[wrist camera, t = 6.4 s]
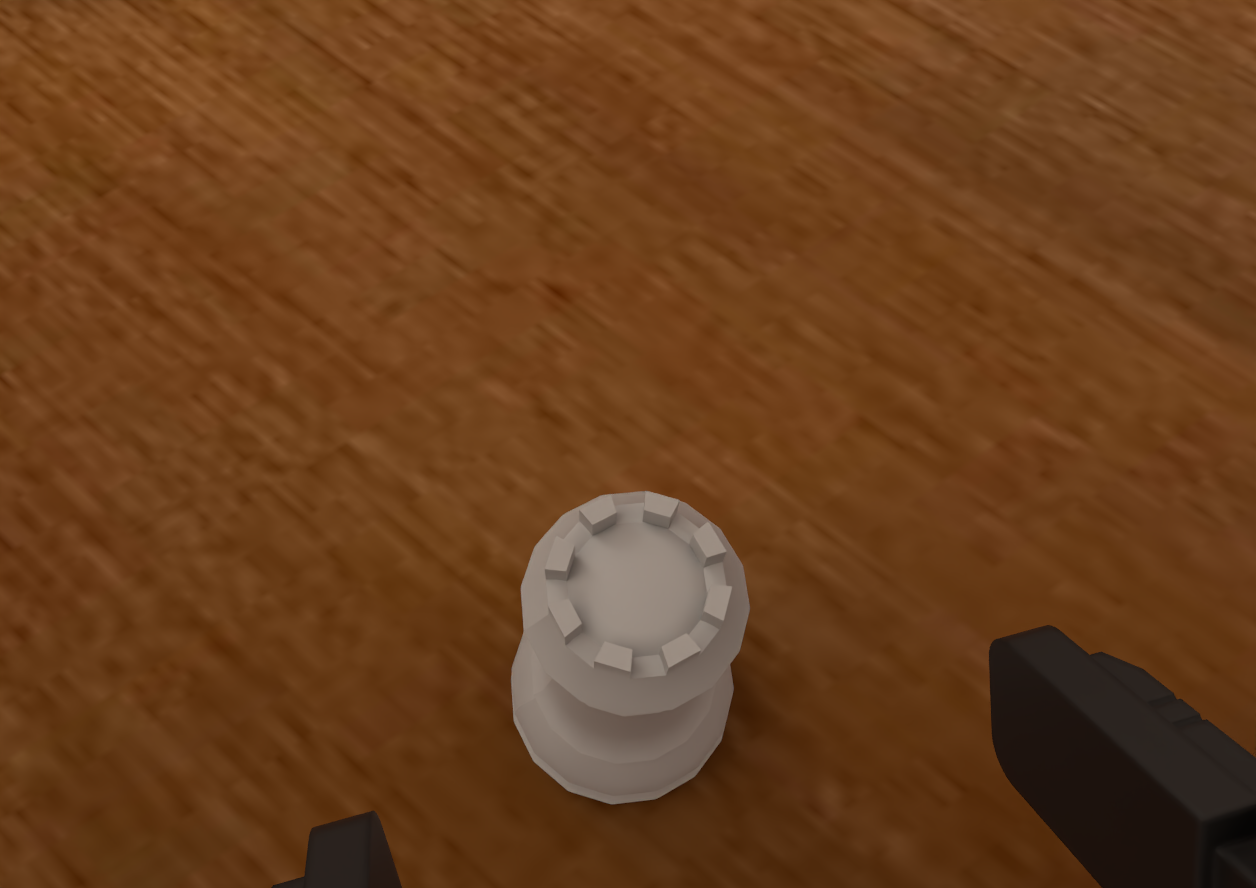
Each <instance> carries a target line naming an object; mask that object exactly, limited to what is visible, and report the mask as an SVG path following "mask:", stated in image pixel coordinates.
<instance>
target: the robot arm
mask: <svg viewBox="0 0 1256 888" xmlns="http://www.w3.org/2000/svg"><path fill="white" fill-rule="evenodd" d="M989 668H990V695H991V723H992V739H993V745H994V748H995V752H996V755H997V758H998V760H999V763H1000V765H1001V767H1002V769H1003V771H1004V773H1005V775H1006V777H1007V778H1008V780H1009V781H1010V782H1011V784H1012V785H1013V786H1014V787H1015V789H1016V790H1017V791H1018V792H1019V793H1020V794H1021V795H1022V797H1023V798H1024V799H1025V800H1026V801H1027V802H1028V803H1029V805H1030V806H1031V807H1032V808H1033V809H1034V810H1035V811H1036V813H1037V814H1038V815H1039V816H1040V817H1041V818H1042V819H1043V821H1044V822H1045V823H1046V824H1047V825H1048V826H1049V827H1050V829H1051V830H1052V831H1053V832H1054V833H1055V834H1056V835H1057V837H1058V838H1059V839H1060V840H1061V841H1062V842H1063V843H1064V845H1065V846H1066V847H1067V848H1068V849H1069V850H1070V851H1071V853H1072V854H1073V855H1074V856H1075V857H1076V858H1077V859H1078V861H1079V862H1080V863H1081V864H1082V865H1083V866H1084V867H1085V869H1086V870H1087V871H1088V872H1089V873H1090V874H1091V875H1092V877H1093V878H1094V879H1095V880H1096V881H1097V882H1098V883H1099V885H1100V886H1101V887H1102V888H1256V758H1255V757H1254V756H1253V755H1251V754H1250V753H1249V752H1247V751H1246V750H1245V749H1244V748H1242V747H1241V746H1240V745H1239V744H1237V743H1236V742H1235V741H1234V740H1232V739H1231V738H1230V737H1228V736H1227V735H1226V734H1225V733H1223V732H1222V731H1221V730H1220V729H1218V728H1217V727H1216V726H1214V725H1213V724H1212V723H1211V722H1209V721H1208V720H1207V719H1206V720H1202V719H1201V717H1200V714H1199V713H1198V712H1197V711H1195V710H1194V709H1193V708H1192V707H1190V706H1189V705H1188V704H1187V703H1185V702H1184V701H1183V700H1181V699H1178V700H1177V699H1176V698H1175V696H1174V693H1173V692H1171V691H1170V690H1169V689H1167V688H1166V687H1165V686H1164V685H1162V684H1161V683H1160V682H1159V681H1157V680H1156V679H1155V678H1154V677H1152V676H1151V675H1150V674H1148V673H1147V672H1146V671H1145V670H1143V669H1141V668H1139V667H1137V666H1134V665H1132V664H1129V663H1127V662H1125V661H1122V660H1120V659H1117V658H1115V657H1113V656H1110V655H1108V654H1105V653H1103V652H1099V653H1095V654H1092V655H1089V654H1088V653H1086V652H1085V651H1084V650H1083V649H1082V648H1080V647H1079V646H1078V645H1077V644H1075V643H1074V642H1073V641H1072V640H1071V639H1069V638H1068V637H1067V636H1066V635H1065V634H1063V633H1062V632H1061V631H1060V630H1058V629H1057V628H1055V627H1053V626H1050V625H1047V626H1042V627H1039V628H1035V629H1031V630H1028V631H1024V632H1021V633H1017V634H1014V635H1010V636H1006V637H1003V638H999V639H996V640H994V641H993V642H992V644H991V646H990V650H989ZM272 888H402V886H401V883H400V880H399V877H398V874H397V871H396V868H395V865H394V862H393V859H392V855H391V852H390V849H389V846H388V843H387V840H386V837H385V834H384V831H383V828H382V825H381V822H380V819H379V817H378V815H377V813H376V812H375V811H371V812H367V813H364V814H360V815H356V816H353V817H349V818H346V819H342V820H338V821H335V822H331V823H328V824H324V825H320V826H317V827H314V828H312V829H311V832H310V835H309V842H308V851H307V860H306V868H305V877H301V878H298V879H294V880H291V881H287V882H284V883H280V884H277V885H273V886H272Z"/></svg>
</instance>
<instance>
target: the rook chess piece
mask: <svg viewBox="0 0 1256 888" xmlns="http://www.w3.org/2000/svg"><path fill="white" fill-rule="evenodd" d="M521 598H522V612H523V626H524V633H523V636H522V639H521V642H520V645H519V648H518V651H517V654H516V657H515V660H514V663H513V666H512V676H511V685H512V700H513V716H514V723H515V725H516V727H517V729H518V731H519V733H520V735H521V737H522V739H523V741H524V743H525V745H526V747H527V749H528V751H529V753H530V755H531V757H532V759H533V761H534V762H535V763H536V764H537V765H538V766H539V767H541V768H542V769H543V770H544V771H545V772H546V773H548V774H549V775H550V776H551V777H552V778H553V779H555V780H556V781H557V782H558V783H559V784H560V785H562V786H563V787H564V788H565V789H566V790H567V791H569V792H573V793H576V794H579V795H582V796H586V797H589V798H592V799H595V800H599V801H602V802H605V803H608V804H619V803H628V802H637V801H645V800H654V799H657V798H659V797H661V796H663V795H664V794H666V793H668V792H669V791H671V790H673V789H675V788H676V787H678V786H680V785H681V784H683V783H685V782H686V781H688V780H690V779H692V778H693V777H695V776H696V774H697V773H698V772H699V770H700V769H701V768H702V766H703V765H704V764H705V762H706V761H707V760H708V758H709V757H710V755H711V754H712V753H713V751H714V750H715V749H716V747H717V746H718V745H719V743H720V742H721V740H722V736H723V732H724V728H725V724H726V720H727V716H728V712H729V708H730V703H731V699H732V695H733V691H734V686H733V679H732V673H731V667H730V663H731V662H732V661H733V659H734V658H735V657H736V655H737V654H738V653H739V651H740V648H741V644H742V640H743V636H744V631H745V627H746V623H747V619H748V615H749V611H750V605H749V599H748V593H747V587H746V581H745V575H744V569H743V565H742V563H741V562H740V560H739V558H738V557H737V555H736V553H735V552H734V550H733V549H732V547H731V545H730V544H729V542H728V541H727V539H726V537H725V536H724V534H723V532H722V531H721V529H720V528H719V527H717V526H716V525H715V524H713V523H712V522H710V521H709V520H708V519H706V518H705V517H704V516H702V515H701V514H700V513H698V512H697V511H696V510H694V509H693V508H692V507H690V506H689V505H688V504H686V503H684V502H680V500H677V499H674V498H670V497H667V496H663V495H659V494H656V493H652V492H649V491H646V492H645V491H643V492H632V493H621V494H609V495H601V496H599V497H597V498H595V499H593V500H591V501H589V502H587V503H585V504H583V505H581V506H579V507H577V508H575V509H573V510H571V511H569V512H567V513H565V514H563V515H562V516H561V517H560V519H559V520H558V521H557V522H556V523H555V524H554V525H553V526H552V528H551V529H550V530H549V531H548V532H547V533H546V534H545V535H544V537H543V538H542V539H541V540H540V541H539V542H538V543H537V544H536V546H535V547H534V550H533V553H532V556H531V559H530V562H529V565H528V568H527V570H526V573H525V576H524V579H523V582H522V585H521Z"/></svg>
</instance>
